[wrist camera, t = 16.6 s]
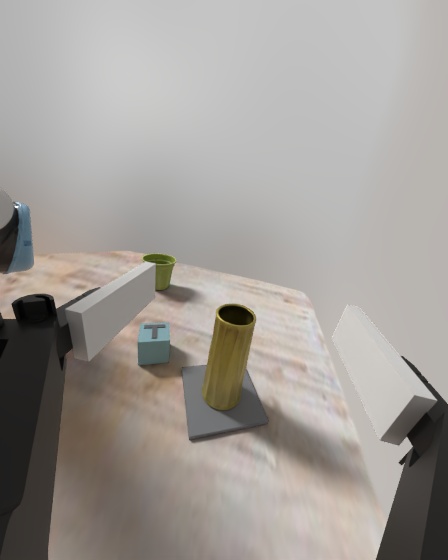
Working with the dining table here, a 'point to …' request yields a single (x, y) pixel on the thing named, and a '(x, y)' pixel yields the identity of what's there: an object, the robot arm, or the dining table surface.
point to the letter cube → (153, 343)
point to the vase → (228, 356)
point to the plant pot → (161, 268)
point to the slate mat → (218, 421)
